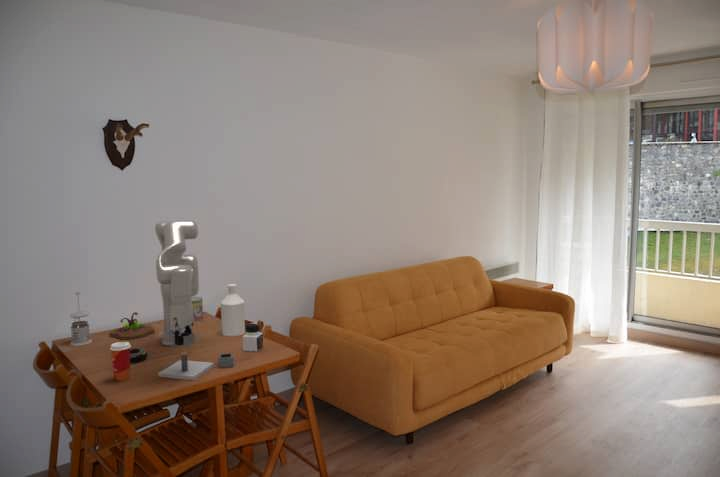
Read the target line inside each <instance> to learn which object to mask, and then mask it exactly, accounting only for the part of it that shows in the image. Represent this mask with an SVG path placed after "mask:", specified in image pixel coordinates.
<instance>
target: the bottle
mask: <svg viewBox="0 0 720 477" xmlns="http://www.w3.org/2000/svg"><path fill="white" fill-rule="evenodd" d="M237 287H238V285H237V284H235V283H231V284H227V292H228V294H227V295H226V296H225V297H224V299H222V300H221V302H220V315H221V317H220V318H221V334H222V336H226V337H238V336H243V335H245V334H246V321H245V320H246V317H245V314H246V312H245V311H246V310H245V307H246V306H245V303H246V302H245V300H244V299H243V298H242V297H240V295H239V294H238V293H237Z"/></svg>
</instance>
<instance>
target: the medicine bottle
mask: <svg viewBox="0 0 720 477" xmlns="http://www.w3.org/2000/svg"><path fill="white" fill-rule="evenodd" d="M263 339H264V334H263V332H260V324H258V323H257V322H250V323H247V324H245V333H244V334H243V335H242V351H244V352H253V351H254V353H255V352H256V353H258V352H259V351H260V350H261V349H263V347H264V340H263Z"/></svg>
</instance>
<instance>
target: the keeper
mask: <svg viewBox="0 0 720 477" xmlns="http://www.w3.org/2000/svg"><path fill="white" fill-rule="evenodd" d="M180 358H181V359H180V360H177V361H176V362H175V363H173V364H171V365H169V366H168V367H166V368H164V369H163V370H161V371H159V372H157V377H159V378H169V379H177V380H178V379H179V380H185V381H187V380H188V381H195V380H196V379H198V378H199V377H201V376H202V375H203V374H205V373H206V372H208V371H210V370H212V369H213V368H214V367H215V363H214V362H206V361H200V360H199V361H198V360H197V361H196V360H188V351H187V350H182V351H180Z"/></svg>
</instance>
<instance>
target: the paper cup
mask: <svg viewBox="0 0 720 477" xmlns="http://www.w3.org/2000/svg"><path fill="white" fill-rule="evenodd" d="M131 347H132V345H131V344H130V342H129V341H118V342H114V343H111V345H110V348H109V349H110V352H111V361H112V369H113V376H114V377H113V378H114V380H115V381H119V382H120V381H121V380H122V381H126V380H128V379H130V377H131V363H130V349H131Z"/></svg>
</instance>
